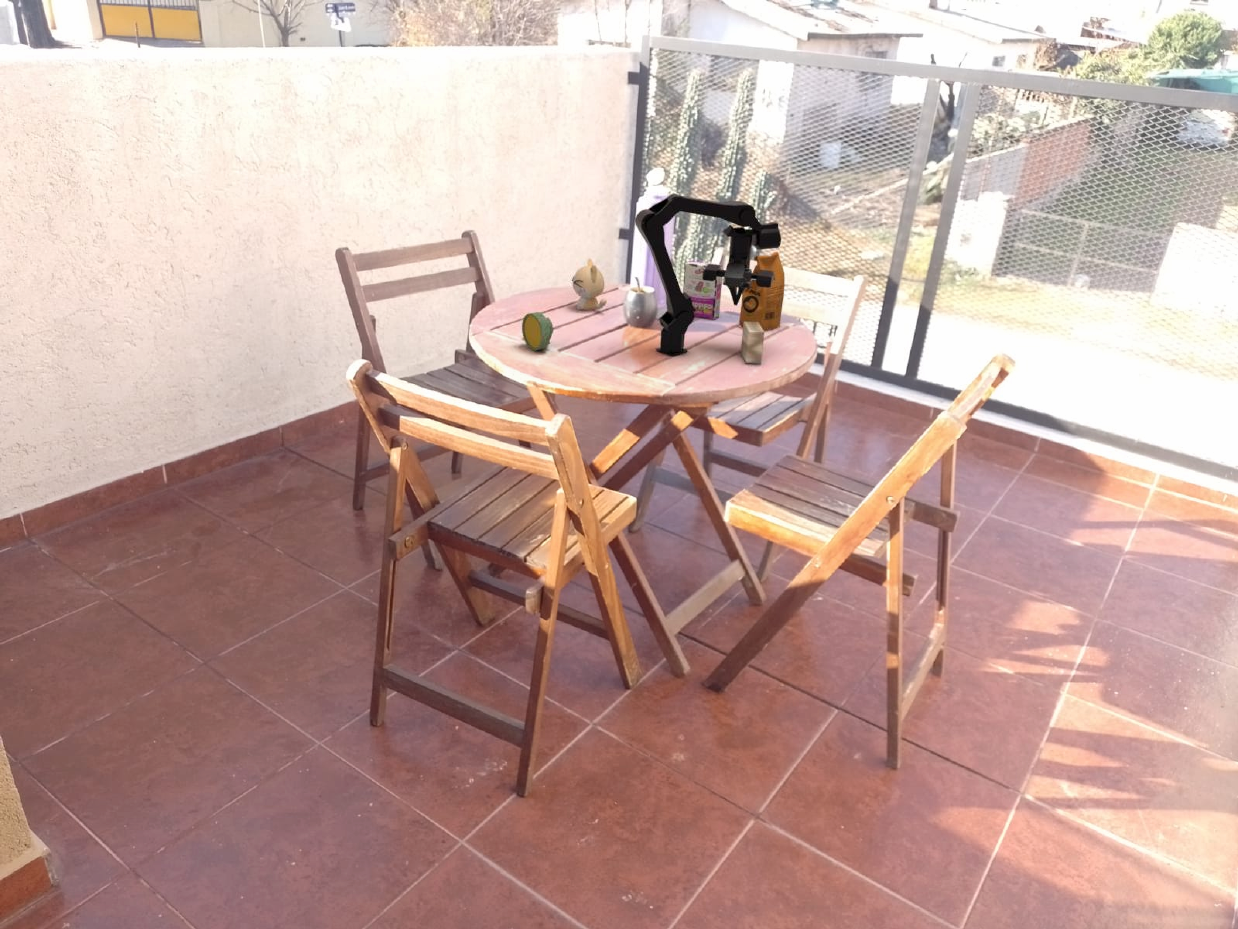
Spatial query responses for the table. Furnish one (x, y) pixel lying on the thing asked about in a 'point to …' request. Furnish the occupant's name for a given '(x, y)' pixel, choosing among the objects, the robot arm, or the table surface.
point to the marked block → (752, 343)
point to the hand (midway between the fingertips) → (735, 304)
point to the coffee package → (764, 295)
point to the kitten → (589, 287)
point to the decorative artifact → (537, 330)
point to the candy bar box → (702, 290)
